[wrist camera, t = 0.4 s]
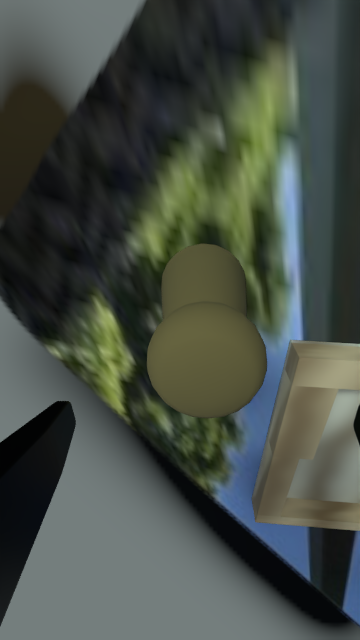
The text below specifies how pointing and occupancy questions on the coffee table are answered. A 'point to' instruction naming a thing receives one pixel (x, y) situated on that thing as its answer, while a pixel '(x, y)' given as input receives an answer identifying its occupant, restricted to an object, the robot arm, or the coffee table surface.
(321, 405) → the keyhole plate
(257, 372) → the cork
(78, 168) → the coffee table surface
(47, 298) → the coffee table surface
